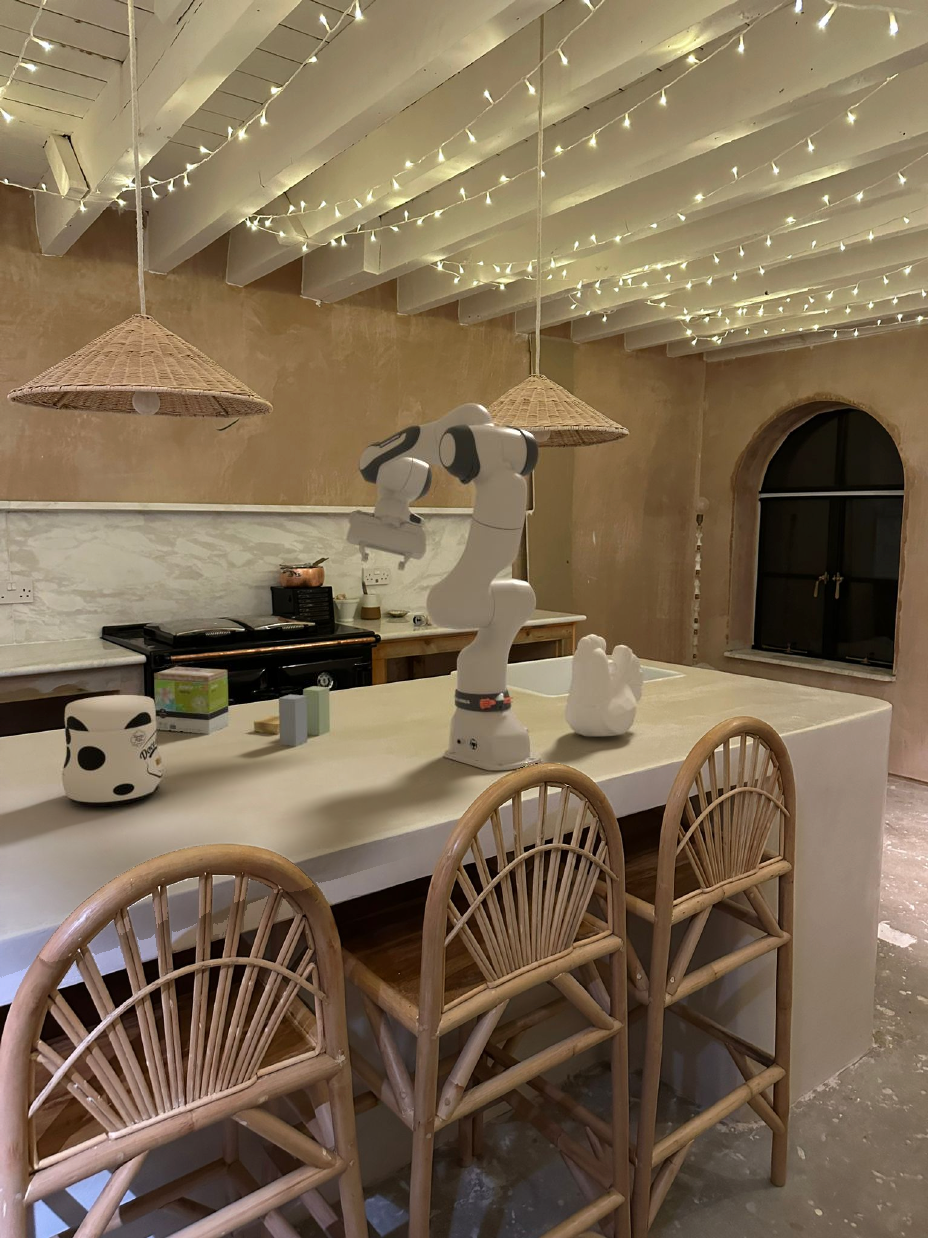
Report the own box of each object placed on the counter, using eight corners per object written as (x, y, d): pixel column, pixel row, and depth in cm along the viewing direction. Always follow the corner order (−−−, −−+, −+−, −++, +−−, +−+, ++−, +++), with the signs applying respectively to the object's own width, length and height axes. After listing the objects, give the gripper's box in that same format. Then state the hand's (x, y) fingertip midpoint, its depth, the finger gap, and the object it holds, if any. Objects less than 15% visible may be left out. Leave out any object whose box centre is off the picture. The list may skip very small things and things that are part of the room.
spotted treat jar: (181, 796, 161) (177, 702, 159) (89, 820, 148) (85, 717, 146) (135, 778, 172) (132, 690, 170) (47, 798, 159) (42, 703, 157)
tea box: (154, 731, 211) (152, 672, 210) (177, 722, 221) (175, 665, 219) (209, 735, 208) (207, 674, 206) (230, 725, 217) (228, 668, 216)
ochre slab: (294, 728, 214) (294, 718, 214) (277, 734, 208) (277, 724, 208) (271, 725, 217) (271, 715, 217) (254, 731, 211) (253, 721, 211)
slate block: (307, 742, 201) (306, 696, 200) (296, 746, 197) (295, 699, 196) (291, 740, 203) (290, 694, 201) (279, 744, 199) (278, 698, 197)
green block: (329, 731, 211) (329, 687, 210) (319, 735, 207) (318, 690, 206) (314, 729, 213) (313, 686, 212) (303, 733, 209) (303, 689, 208)
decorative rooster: (590, 747, 196) (592, 640, 193) (549, 733, 210) (551, 632, 207) (671, 734, 208) (674, 633, 206) (628, 721, 222) (630, 626, 219)
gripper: (352, 502, 215) (344, 549, 209) (431, 521, 219) (424, 568, 213) (348, 514, 220) (339, 561, 214) (425, 533, 225) (418, 579, 219)
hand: (382, 565), depth 214 cm, fingers open, 8 cm apart
